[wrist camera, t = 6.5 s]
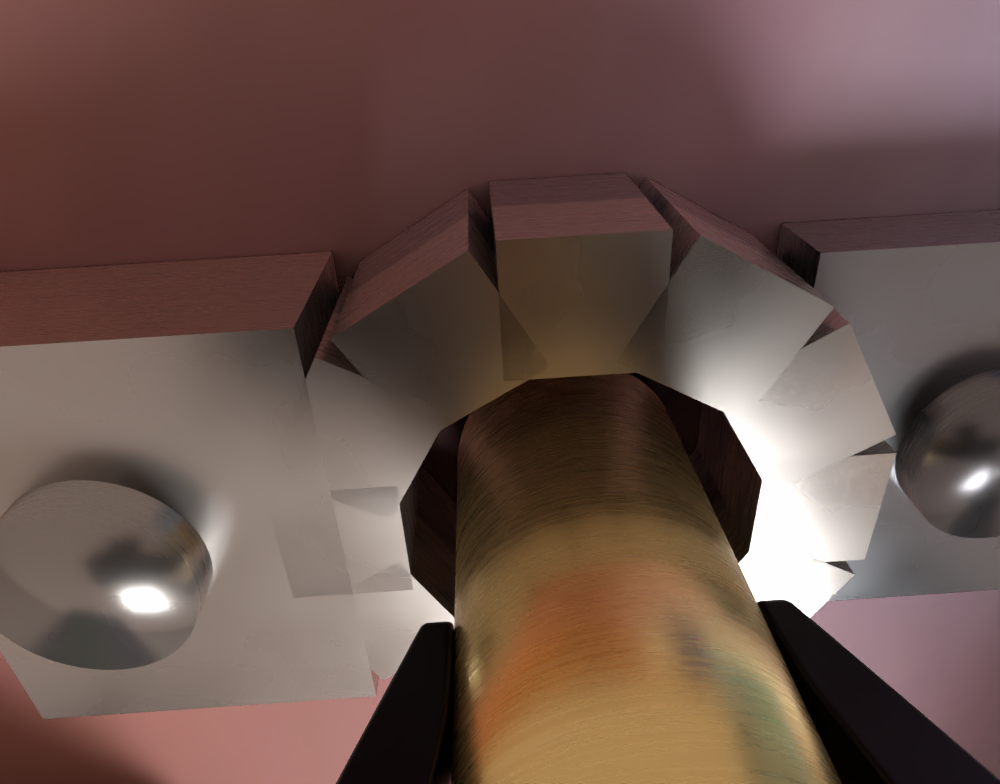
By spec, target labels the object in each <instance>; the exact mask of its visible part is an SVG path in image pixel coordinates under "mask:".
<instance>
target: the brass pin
mask: <svg viewBox="0 0 1000 784" xmlns="http://www.w3.org/2000/svg"><path fill="white" fill-rule="evenodd" d="M451 784H842V782H841V780H840V778H839V776H838V774H837V772H836V770H835V767H834V765H833V763H832V761H831V759H830V757H829V755H828V753H827V750H826V748H825V746H824V744H823V742H822V740H821V738H820V736H819V733H818V731H817V729H816V727H815V725H814V723H813V721H812V719H811V716H810V714H809V712H808V710H807V708H806V706H805V704H804V702H803V699H802V697H801V695H800V693H799V691H798V689H797V687H796V684H795V682H794V680H793V678H792V676H791V674H790V672H789V670H788V667H787V665H786V663H785V661H784V659H783V657H782V655H781V653H780V650H779V648H778V646H777V644H776V642H775V640H774V638H773V636H772V633H771V631H770V629H769V627H768V625H767V623H766V621H765V619H764V616H763V614H762V612H761V610H760V608H759V606H758V604H757V601H756V599H755V597H754V595H753V593H752V591H751V589H750V587H749V584H748V582H747V580H746V578H745V576H744V574H743V572H742V570H741V567H740V565H739V563H738V561H737V559H736V557H735V555H734V553H733V550H732V548H731V546H730V544H729V542H728V540H727V538H726V536H725V533H724V531H723V529H722V527H721V525H720V523H719V521H718V518H717V516H716V514H715V512H714V510H713V508H712V506H711V504H710V501H709V499H708V497H707V495H706V493H705V491H704V489H703V487H702V484H701V482H700V480H699V478H698V476H697V474H696V472H695V470H694V467H693V465H692V463H691V461H690V459H689V457H688V455H687V453H686V450H685V448H684V446H683V444H682V442H681V440H680V438H679V435H678V433H677V431H676V429H675V427H674V425H673V423H672V421H671V418H670V416H669V414H668V412H667V410H666V408H665V406H664V404H663V403H662V402H661V400H660V399H659V398H658V396H657V395H656V394H655V393H654V392H653V391H652V390H651V389H650V388H649V387H648V386H647V385H646V384H645V383H643V382H642V381H641V380H639V379H638V378H636V377H635V376H633V375H631V374H629V373H622V374H606V375H591V376H575V377H560V378H544V379H529V380H527V381H525V382H524V383H522V384H520V385H518V386H517V387H515V388H513V389H511V390H510V391H508V392H506V393H504V394H503V395H501V396H499V397H497V398H496V399H494V400H492V401H491V402H489V403H487V404H485V405H484V406H482V407H480V408H478V409H477V410H475V411H473V412H472V413H471V414H470V416H469V417H468V419H467V421H466V423H465V425H464V428H463V431H462V434H461V437H460V441H459V448H458V475H457V522H456V570H455V617H454V677H453V720H452V760H451Z"/></svg>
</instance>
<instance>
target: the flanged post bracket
mask: <svg viewBox="0 0 1000 784" xmlns="http://www.w3.org/2000/svg"><path fill="white" fill-rule="evenodd" d="M489 189H490V207H491V222H490V221H489V219H488V218H487V216H486V215H485V213H484V212H483V210H482V209H481V207H480V206H479V204H478V203H477V201H476V200H475V198H474V197H473V195H472V194H471V192H470V191H469V189H466V190H465V191H463V192H462V193H460V194H459V195H457V196H456V197H454V198H453V199H451V200H450V201H448V202H447V203H445V204H444V205H442V206H441V207H439V208H438V209H436V210H435V211H434V212H432V213H431V214H429V215H428V216H426V217H425V218H423V219H422V220H420V221H419V222H417V223H416V224H414V225H413V226H411V227H410V228H408V229H407V230H405V231H404V232H402V233H401V234H399V235H398V236H396V237H395V238H394V239H392V240H391V241H389V242H388V243H386V244H385V245H383V246H382V247H380V248H379V249H377V250H376V251H374V252H373V253H371V254H370V255H368V256H367V257H365V258H364V259H362V260H361V261H360V263H359V266H358V269H357V271H356V274H355V276H354V278H352V277H349V276H348V277H347V279H346V282H345V284H344V287H343V289H342V291H341V294H340V292H339V286H338V281H337V275H336V270H335V264H334V259H333V253H332V251H331V252H315V253H299V254H283V255H267V256H251V257H235V258H219V259H203V260H187V261H171V262H155V263H139V264H123V265H107V266H91V267H75V268H59V269H43V270H27V271H11V272H0V652H1V653H2V655H3V656H4V658H5V659H6V661H7V663H8V664H9V666H10V667H11V669H12V670H13V672H14V674H15V675H16V677H17V678H18V680H19V681H20V683H21V685H22V686H23V688H24V689H25V691H26V692H27V694H28V696H29V697H30V699H31V700H32V702H33V704H34V705H35V707H36V708H37V710H38V711H39V713H40V715H41V716H42V718H43V719H52V718H67V717H81V716H96V715H110V714H125V713H139V712H154V711H168V710H183V709H197V708H212V707H226V706H241V705H255V704H270V703H284V702H298V701H313V700H327V699H342V698H356V697H371V696H376V695H377V687H378V679H379V677H380V678H382V679H383V680H384V679H387V678H389V677H391V676H393V675H395V673H396V671H397V669H398V668H399V666H400V664H401V662H402V660H403V658H404V656H405V655H406V653H407V651H408V649H409V647H410V645H411V644H412V642H413V640H414V638H415V636H416V634H417V632H418V631H419V629H420V628H421V626H422V625H423V624H425V623H432V622H447V621H448V622H451V623H452V624H453V626H454V617H455V570H456V522H457V505H456V504H455V502H454V501H453V500H452V499H451V498H450V497H449V496H448V495H447V493H446V492H445V491H444V490H443V489H442V488H441V487H440V486H439V485H438V483H437V482H436V481H435V480H434V479H433V478H432V477H431V476H430V474H429V473H428V472H427V471H426V470H425V469H424V468H423V467H422V466H421V464H422V462H423V460H424V459H425V457H426V455H427V453H428V451H429V450H430V448H431V446H432V444H433V442H434V441H435V439H436V437H437V435H438V433H439V432H440V430H442V429H444V428H445V427H447V426H449V425H451V424H452V423H454V422H456V421H458V420H459V419H461V418H463V417H465V416H466V415H468V414H470V413H471V412H473V411H475V410H477V409H478V408H480V407H482V406H484V405H485V404H487V403H489V402H491V401H492V400H494V399H496V398H497V397H499V396H501V395H503V394H504V393H506V392H508V391H510V390H511V389H513V388H515V387H517V386H518V385H520V384H522V383H524V382H525V381H527V380H529V379H544V378H560V377H575V376H591V375H606V374H622V373H639V374H641V375H643V376H645V377H648V378H650V379H652V380H654V381H656V382H659V383H661V384H663V385H665V386H667V387H670V388H672V389H674V390H676V391H678V392H681V393H683V394H685V395H687V396H689V397H692V398H694V399H696V400H698V401H700V402H702V408H701V417H700V426H699V434H698V443H697V448H696V449H695V450H694V451H693V453H692V454H691V455H690V457H689V459H690V461H691V463H692V465H693V467H694V470H695V472H696V474H697V476H698V478H699V480H700V482H701V484H702V487H703V489H704V491H705V493H706V495H707V497H708V499H709V501H710V504H711V506H712V508H713V510H714V512H715V514H716V516H717V518H718V521H719V523H720V525H721V527H722V529H723V531H724V533H725V536H726V538H727V540H728V542H729V544H730V546H731V548H732V550H733V553H734V555H735V557H736V559H737V561H738V563H739V565H740V567H741V570H742V572H743V574H744V576H745V578H746V580H747V582H748V584H749V587H750V589H751V591H752V593H753V595H754V597H755V599H756V601H757V602H758V601H762V600H777V599H784V600H787V601H789V602H791V603H793V604H794V605H795V606H796V607H797V608H799V609H800V610H801V611H802V612H803V613H805V614H806V615H807V616H808V617H809V618H811V617H812V616H813V615H814V614H815V613H816V612H817V611H818V610H819V609H820V608H821V607H822V606H823V605H824V604H825V603H826V602H827V601H837V600H851V599H866V598H881V597H895V596H910V595H925V594H939V593H954V592H969V591H984V590H998V589H1000V210H987V211H971V212H955V213H939V214H923V215H907V216H891V217H875V218H859V219H843V220H827V221H811V222H795V223H782V224H781V230H780V236H779V243H778V249H777V255H775V254H774V253H773V252H771V251H770V250H769V249H768V248H767V247H766V246H765V245H763V244H762V243H761V242H760V241H759V240H758V239H757V238H755V237H754V236H753V235H751V234H749V233H747V232H745V231H744V230H742V229H740V228H738V227H736V226H734V225H733V224H731V223H729V222H727V221H725V220H723V219H722V218H720V217H718V216H716V215H714V214H712V213H711V212H709V211H707V210H705V209H703V208H701V207H700V206H698V205H696V204H694V203H692V202H691V201H689V200H687V199H685V198H683V197H681V196H680V195H678V194H676V193H674V192H672V191H670V190H669V189H667V188H665V187H663V186H661V185H659V184H658V183H656V182H654V181H652V180H650V179H648V178H647V177H646V179H645V180H644V182H643V184H642V185H641V187H640V189H638V187H637V186H636V185H635V184H634V183H633V181H632V180H631V179H630V178H629V177H628V176H627V174H626V173H613V174H597V175H580V176H564V177H548V178H532V179H516V180H499V181H489Z"/></svg>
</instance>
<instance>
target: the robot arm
mask: <svg viewBox="0 0 1000 784" xmlns="http://www.w3.org/2000/svg"><path fill="white" fill-rule="evenodd" d="M757 604H758V606H759V608H760V610H761V612H762V614H763V616H764V619H765V621H766V623H767V625H768V627H769V629H770V631H771V633H772V636H773V638H774V640H775V642H776V644H777V646H778V648H779V650H780V653H781V655H782V657H783V659H784V661H785V663H786V665H787V667H788V670H789V672H790V674H791V676H792V678H793V680H794V682H795V684H796V687H797V689H798V691H799V693H800V695H801V697H802V699H803V702H804V704H805V706H806V708H807V710H808V712H809V714H810V716H811V719H812V721H813V723H814V725H815V727H816V729H817V731H818V733H819V736H820V738H821V740H822V742H823V744H824V746H825V748H826V750H827V753H828V755H829V757H830V759H831V761H832V763H833V765H834V767H835V770H836V772H837V774H838V776H839V778H840V780H841V782H842V784H1000V779H999V778H997V777H996V776H995V775H994V774H993V773H991V772H990V771H989V770H988V769H987V768H986V767H984V766H983V765H982V764H981V763H980V762H979V761H977V760H976V759H975V758H974V757H973V756H971V755H970V754H969V753H968V752H967V751H966V750H964V749H963V748H962V747H961V746H960V745H959V744H957V743H956V742H955V741H954V740H953V739H951V738H950V737H949V736H948V735H947V734H946V733H944V732H943V731H942V730H941V729H940V728H939V727H937V726H936V725H935V724H934V723H933V722H931V721H930V720H929V719H928V718H927V717H926V716H924V715H923V714H922V713H921V712H920V711H919V710H917V709H916V708H915V707H914V706H913V705H912V704H910V703H909V702H908V701H907V700H906V699H904V698H903V697H902V696H901V695H900V694H899V693H897V692H896V691H895V690H894V689H893V688H892V687H890V686H889V685H888V684H887V683H886V682H884V681H883V680H882V679H881V678H880V677H879V676H877V675H876V674H875V673H874V672H873V671H872V670H870V669H869V668H868V667H867V666H866V665H864V664H863V663H862V662H861V661H860V660H859V659H857V658H856V657H855V656H854V655H853V654H852V653H850V652H849V651H848V650H847V649H846V648H844V647H843V646H842V645H841V644H840V643H839V642H837V641H836V640H835V639H834V638H833V637H832V636H830V635H829V634H828V633H827V632H826V631H824V630H823V629H822V628H821V627H820V626H819V625H817V624H816V623H815V622H814V621H813V620H812V619H810V618H809V617H808V616H807V615H806V614H805V613H803V612H802V611H801V610H800V609H799V608H797V607H796V606H795V605H794V604H793V603H791V602H789V601H787V600H784V599H777V600H762V601H758V602H757ZM453 677H454V626H453V624H452V623H451V622H448V621H447V622H432V623H425V624H423V625H422V626H421V628H420V629H419V631H418V632H417V634H416V636H415V638H414V640H413V642H412V644H411V645H410V647H409V649H408V651H407V653H406V655H405V656H404V658H403V660H402V662H401V664H400V666H399V668H398V669H397V671H396V673H395V675H394V677H393V679H392V681H391V682H390V684H389V686H388V688H387V690H386V692H385V694H384V695H383V697H382V699H381V701H380V703H379V705H378V706H377V708H376V710H375V712H374V714H373V716H372V718H371V719H370V721H369V723H368V725H367V727H366V729H365V731H364V732H363V734H362V736H361V738H360V740H359V742H358V744H357V745H356V747H355V749H354V751H353V753H352V755H351V756H350V758H349V760H348V762H347V764H346V766H345V768H344V769H343V771H342V773H341V775H340V777H339V779H338V781H337V782H336V784H451V760H452V720H453Z"/></svg>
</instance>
